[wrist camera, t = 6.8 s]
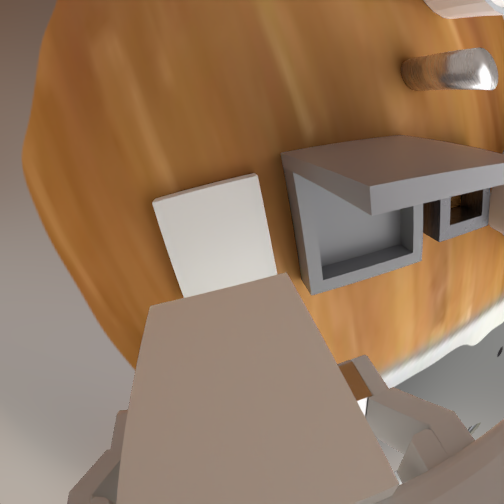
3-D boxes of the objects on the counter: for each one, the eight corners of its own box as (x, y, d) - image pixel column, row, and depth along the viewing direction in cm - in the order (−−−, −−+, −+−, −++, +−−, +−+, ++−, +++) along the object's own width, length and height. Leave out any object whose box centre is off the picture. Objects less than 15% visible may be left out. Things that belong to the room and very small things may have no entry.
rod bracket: (416, 151, 21) (439, 156, 18) (467, 145, 21) (490, 150, 19) (418, 229, 24) (439, 242, 21) (467, 215, 24) (488, 225, 22)
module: (150, 305, 10) (114, 532, 3) (286, 272, 11) (399, 483, 3) (194, 397, 12) (206, 564, 5) (302, 371, 13) (366, 531, 5)
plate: (155, 198, 20) (152, 202, 19) (254, 172, 20) (257, 175, 19) (187, 297, 23) (186, 305, 22) (275, 275, 23) (278, 282, 22)
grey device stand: (280, 152, 20) (369, 186, 9) (400, 135, 20) (525, 160, 9) (301, 279, 24) (367, 390, 13) (405, 249, 25) (499, 322, 14)
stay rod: (398, 58, 18) (469, 44, 11) (423, 60, 18) (493, 51, 11) (404, 90, 19) (477, 88, 12) (429, 91, 19) (500, 91, 12)
